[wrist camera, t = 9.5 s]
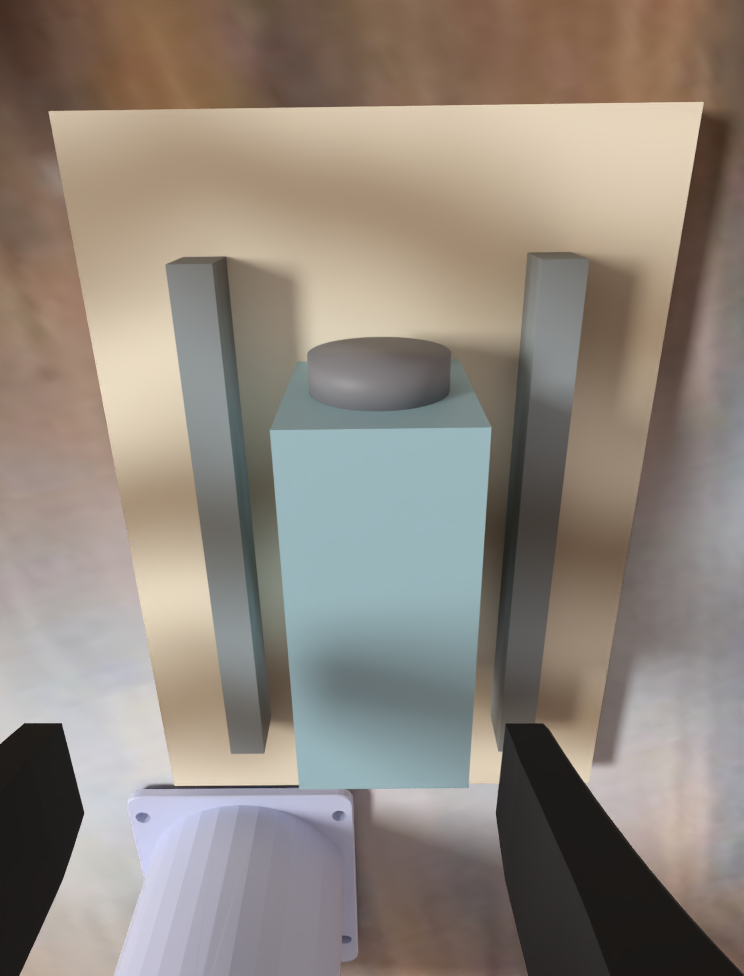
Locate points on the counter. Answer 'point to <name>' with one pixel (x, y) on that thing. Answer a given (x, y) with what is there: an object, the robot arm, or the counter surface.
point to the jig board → (375, 313)
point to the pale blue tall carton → (381, 561)
